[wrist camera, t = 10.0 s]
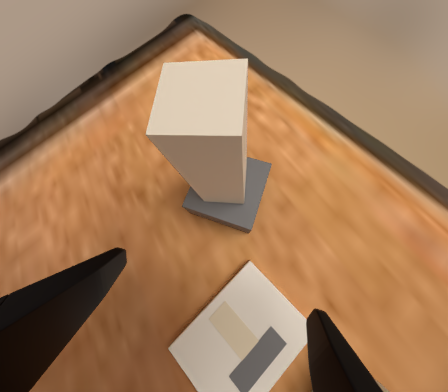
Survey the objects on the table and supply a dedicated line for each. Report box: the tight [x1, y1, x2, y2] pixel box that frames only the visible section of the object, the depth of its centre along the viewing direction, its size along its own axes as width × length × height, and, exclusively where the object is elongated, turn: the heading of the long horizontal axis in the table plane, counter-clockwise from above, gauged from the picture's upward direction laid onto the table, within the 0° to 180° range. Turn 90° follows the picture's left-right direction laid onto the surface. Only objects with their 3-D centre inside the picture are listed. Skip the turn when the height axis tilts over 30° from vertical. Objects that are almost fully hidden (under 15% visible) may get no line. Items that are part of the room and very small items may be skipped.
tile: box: [168, 260, 307, 392], centre depth 18 cm, size 12×9×1 cm
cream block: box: [146, 59, 248, 204], centre depth 14 cm, size 4×4×12 cm
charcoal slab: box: [182, 157, 272, 233], centre depth 22 cm, size 8×8×4 cm
